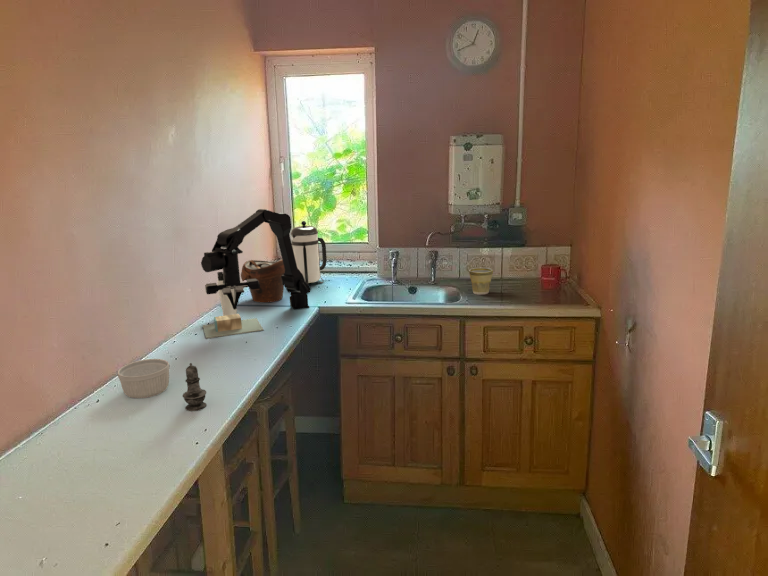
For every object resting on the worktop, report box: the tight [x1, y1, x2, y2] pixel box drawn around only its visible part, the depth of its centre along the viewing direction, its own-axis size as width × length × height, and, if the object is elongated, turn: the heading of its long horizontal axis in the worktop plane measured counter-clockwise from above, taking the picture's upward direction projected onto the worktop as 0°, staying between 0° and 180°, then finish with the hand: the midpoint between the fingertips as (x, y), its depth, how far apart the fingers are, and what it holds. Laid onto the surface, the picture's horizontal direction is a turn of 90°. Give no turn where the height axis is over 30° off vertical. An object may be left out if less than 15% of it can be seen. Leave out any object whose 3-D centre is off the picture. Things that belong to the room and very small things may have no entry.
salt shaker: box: [182, 362, 207, 412], centre depth 151 cm, size 6×6×12 cm
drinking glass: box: [216, 279, 238, 316], centre depth 231 cm, size 7×7×15 cm
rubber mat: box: [202, 317, 265, 339], centre depth 217 cm, size 20×16×1 cm
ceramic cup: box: [468, 267, 494, 296], centre depth 254 cm, size 13×10×10 cm
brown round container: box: [240, 258, 285, 303], centre depth 255 cm, size 18×20×18 cm
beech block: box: [213, 313, 242, 332], centre depth 216 cm, size 4×6×9 cm
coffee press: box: [290, 220, 327, 286], centre depth 281 cm, size 17×16×30 cm
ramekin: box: [117, 358, 171, 399], centre depth 163 cm, size 13×13×7 cm
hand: (234, 309), depth 216 cm, fingers closed
